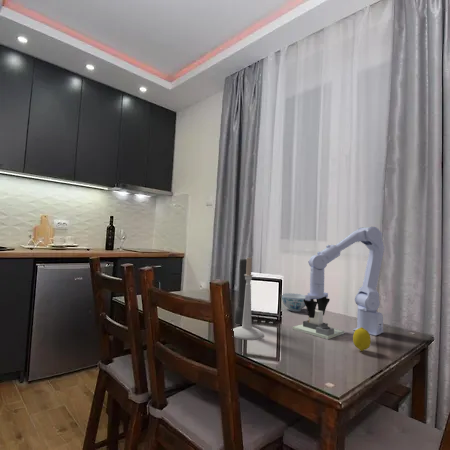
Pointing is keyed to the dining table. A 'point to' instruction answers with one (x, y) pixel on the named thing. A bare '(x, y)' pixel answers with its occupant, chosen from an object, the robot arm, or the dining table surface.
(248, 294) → the candlestick
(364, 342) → the lemon
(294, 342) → the dining table surface
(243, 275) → the flashlight
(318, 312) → the plug
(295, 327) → the board
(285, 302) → the chinaware
